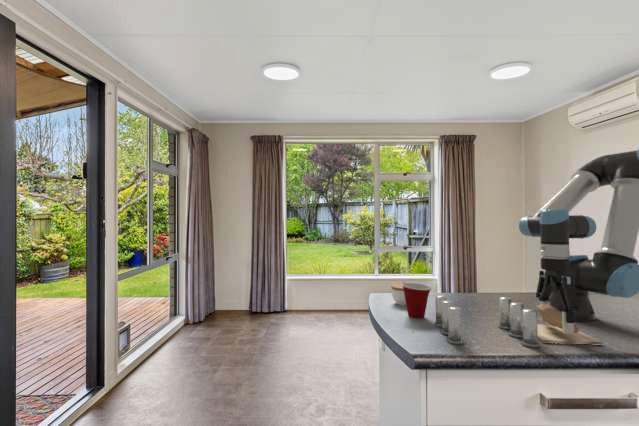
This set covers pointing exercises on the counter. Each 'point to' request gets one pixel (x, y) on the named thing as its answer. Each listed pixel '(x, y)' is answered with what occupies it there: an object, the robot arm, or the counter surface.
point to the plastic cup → (416, 299)
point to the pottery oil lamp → (552, 316)
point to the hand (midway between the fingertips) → (556, 327)
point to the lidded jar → (398, 294)
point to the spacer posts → (511, 319)
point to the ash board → (562, 336)
